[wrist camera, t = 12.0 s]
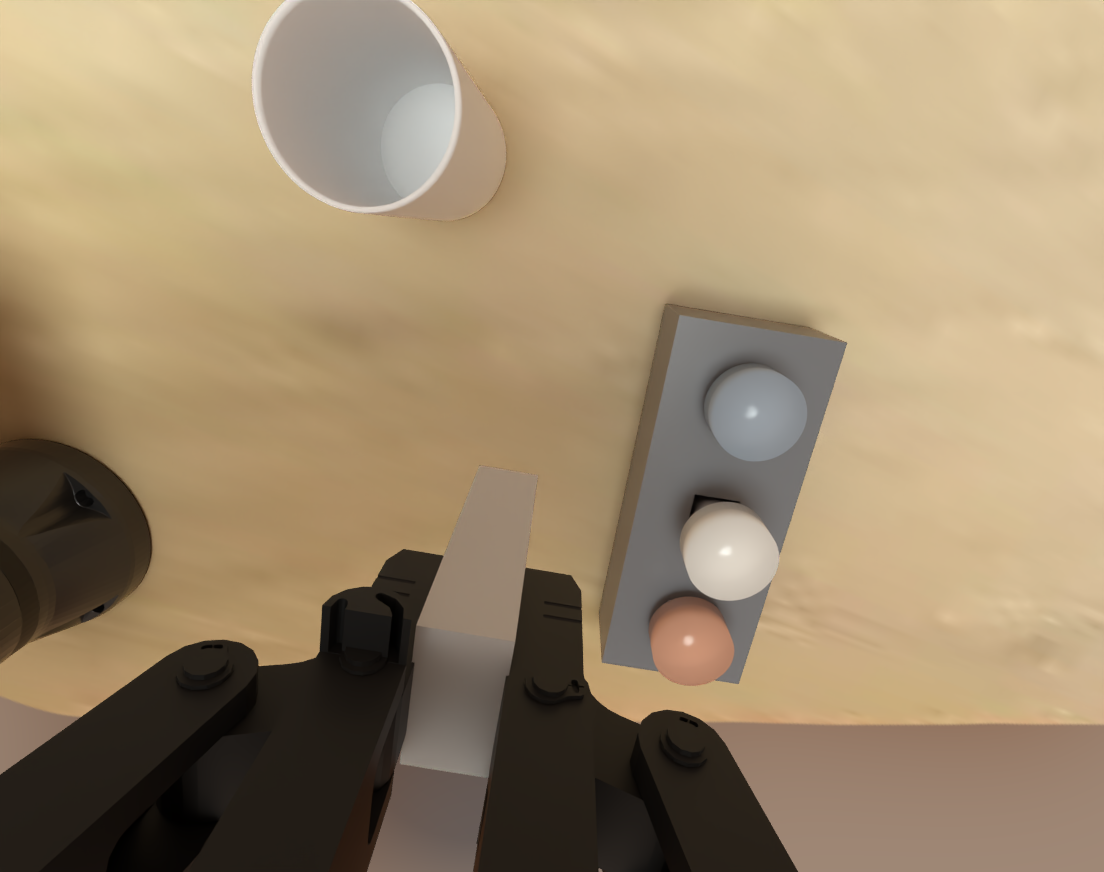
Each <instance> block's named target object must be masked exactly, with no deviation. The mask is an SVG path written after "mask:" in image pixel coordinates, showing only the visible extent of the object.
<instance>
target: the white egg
mask: <svg viewBox="0 0 1104 872" xmlns="http://www.w3.org/2000/svg"><path fill="white" fill-rule="evenodd" d="M690 515H691V517H690V518H689V519H688V520H687V522H686V523H685V525H684V527H683V529H682V531H681V535H680V550H681V554H682V557H683V560H684V563H685V566H686V569H687V572H688V575H689V578H690V580H691V581H692V583H693V584H694V585H695V587H696V588H697V589H698V590H700V591H701V592H702V593H704V594H705V595H707V596H709V597H712V598H714V599H718V600H725V601H734V600H741V599H745V598H748V597H750V596H753V595H755V594H756V593H758V592H760V591H761V590H762V589H764V588H765V587H766V586H767V585H768V584H769V583H770V581H771V580H772V579H773V577H774V575H775V573H776V571H777V568H778V564H779V551H778V547H777V544H776V542H775V540H774V539H773V537H772V535H771V534H770V532H769V531H768V529H767V528H766V526H765V525H764V523H763V521H762V520H761V518H760V517H759V516H758V515H757V514H756V513H755V512H754V511H753V510H751V509H750V508H748V507H746V506H744V505H742V504H739V503H734V502H724V500H723V499H721V498H715V497H708V496H702V495H696V494H695V496H694V500H693V504H692V508H691V512H690Z"/></svg>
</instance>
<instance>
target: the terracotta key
mask: <svg viewBox="0 0 1104 872" xmlns="http://www.w3.org/2000/svg"><path fill="white" fill-rule="evenodd" d="M648 632H649V639H650V644H651V650H652V655H653V660H654V663H655V666H656V668H657V669H658V671H659V672H660V673H661V674H662V675H663V676H664V677H665V678H667V679H668V680H670V681H672V682H674V683H677V684H681V685H688V686H696V685H702V684H706V683H709V682H712V681H714V680H716V679H717V678H719V677H720V676H721V675H723V674H724V673H725V672H726V671H727V669H728V668H729V667H730V665H731V663H732V660H733V657H734V644H733V641H732V638H731V635H730V633H729V630H728V628H727V625H726V622H725V620H724V617H723V615H722V613H721V612H720V610H719V609H718V608H717V607H716V606H715V605H714V604H712V603H711V602H709V601H707V600H704V599H702V598H698V597H680V598H675V599H673V600H668V601H667V602H666V603H665V604H663V605H662V606H660V607H659V608H658V609H657V610H656V611H655V613H654V614H653V616H652V618H651V620H650V623H649V630H648Z"/></svg>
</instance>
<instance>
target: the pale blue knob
mask: <svg viewBox="0 0 1104 872" xmlns="http://www.w3.org/2000/svg"><path fill="white" fill-rule="evenodd" d="M704 416H705V420H706V423H707V425H708V427H709V429H710V431H711V432H712V434H713V435H714V437H715V438H716V439H717V441H718V442H719V444H720V445H721V446H722V448H723V449H724V450H725V451H727V452H728V453H729V454H731V455H732V456H734V457H736V458H739V459H742V460H746V461H765V460H769V459H773V458H775V457H778V456H779V455H781V454H783V453H785V452H786V451H787V450H789V449H790V448H791V447H792V446H793V445H794V444H795V443H796V442H797V440H798V439H799V438H800V436H801V434H802V432H803V430H804V428H805V425H806V421H807V405H806V401H805V398H804V396H803V394H802V392H801V390H800V389H799V388H798V386H797V385H796V384H795V383H794V382H792V381H791V380H790V379H788V378H787V377H785V376H784V375H782V374H781V373H779V372H778V371H776V370H775V369H773V368H771V367H769V366H766V365H763V364H757V363H747V364H741V365H738V366H735V367H733V368H730V369H729V370H727V371H725V372H724V373H722V374H721V375H720V376H719V377H718V378H717V379H716V380H715V381H714V382H713V384H712V385H711V387H710V388H709V390H708V392H707V395H706V398H705V402H704Z"/></svg>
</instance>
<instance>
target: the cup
mask: <svg viewBox="0 0 1104 872" xmlns="http://www.w3.org/2000/svg"><path fill="white" fill-rule="evenodd" d="M252 96H253V104H254V109H255V114H256V118H257V122H258V125H259V128H260V131H261V133H262V136H263V138H264V140H265V142H266V145H267V147H268V148H269V150H270V152H271V154H272V155H273V157H274V158H275V160H276V161H277V163H278V164H279V166H280V167H281V168H282V169H283V171H284V172H285V173H286V174H287V175H288V176H289V177H290V178H291V179H292V180H293V181H294V182H295V183H296V184H297V185H298V186H299V187H300V188H302V189H303V190H304V191H306V192H307V193H308V194H310V195H311V196H313V197H315V198H316V199H318V200H320V201H322V202H324V203H326V204H328V205H330V206H333V207H336V208H338V209H341V210H345V211H349V212H354V213H362V214H372V215H382V216H393V217H404V218H415V219H426V220H437V221H454V220H459V219H463V218H466V217H468V216H470V215H472V214H474V213H476V212H477V211H479V210H480V209H482V208H483V207H484V206H485V205H486V204H487V203H488V202H489V201H490V200H491V198H492V197H493V196H494V194H495V193H496V191H497V189H498V188H499V186H500V183H501V181H502V178H503V175H504V171H505V166H506V142H505V137H504V133H503V130H502V127H501V124H500V122H499V120H498V118H497V116H496V114H495V112H494V111H493V109H492V108H491V106H490V105H489V103H488V102H487V100H486V99H485V97H484V96H483V95H482V93H481V92H480V90H479V89H478V87H477V86H476V84H475V83H474V81H473V80H472V78H471V77H470V75H469V74H468V72H467V71H466V69H465V68H464V66H463V65H462V63H461V62H460V60H459V59H458V58H457V56H456V55H455V53H454V52H453V50H452V49H451V47H450V46H449V44H448V43H447V41H446V40H445V38H444V37H443V36H442V34H441V33H440V31H439V30H438V28H437V27H436V25H435V24H434V23H433V22H432V20H431V19H430V18H429V17H428V16H427V15H426V14H425V13H424V12H423V11H422V10H421V9H420V8H419V7H418V6H417V5H416V4H414V3H413V2H412V1H411V0H285V1H284V2H283V3H282V4H281V5H280V6H279V7H278V8H277V10H276V11H275V12H274V13H273V15H272V16H271V18H270V19H269V21H268V22H267V24H266V26H265V28H264V30H263V32H262V34H261V37H260V39H259V42H258V45H257V49H256V52H255V56H254V62H253V70H252Z"/></svg>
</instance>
